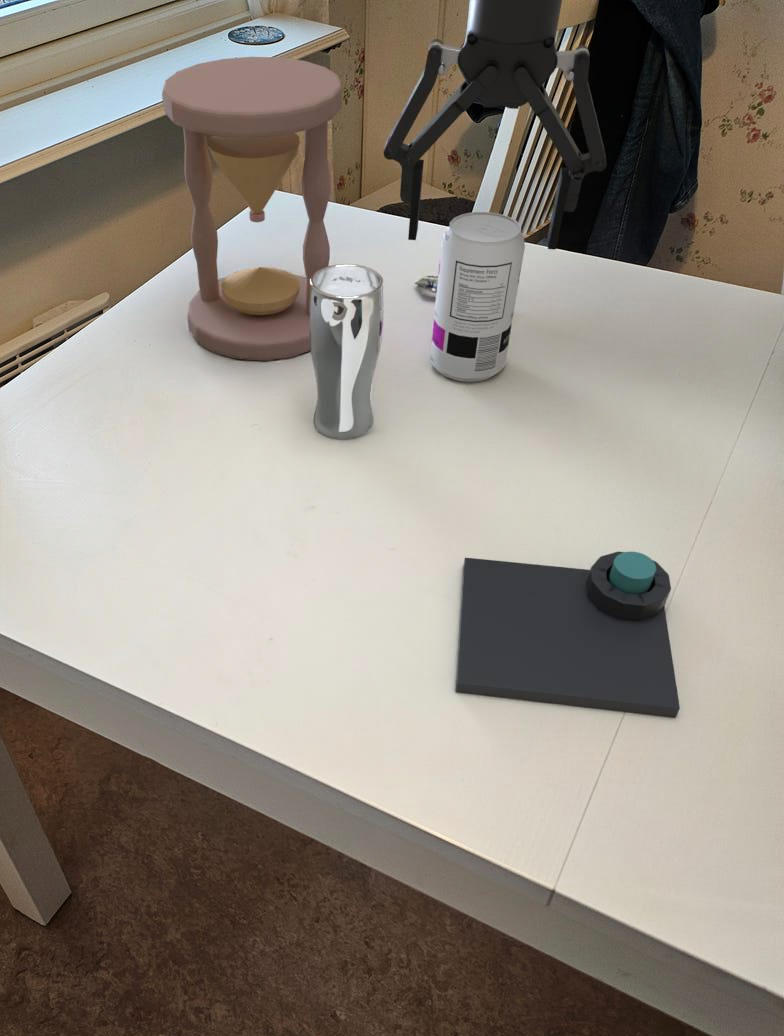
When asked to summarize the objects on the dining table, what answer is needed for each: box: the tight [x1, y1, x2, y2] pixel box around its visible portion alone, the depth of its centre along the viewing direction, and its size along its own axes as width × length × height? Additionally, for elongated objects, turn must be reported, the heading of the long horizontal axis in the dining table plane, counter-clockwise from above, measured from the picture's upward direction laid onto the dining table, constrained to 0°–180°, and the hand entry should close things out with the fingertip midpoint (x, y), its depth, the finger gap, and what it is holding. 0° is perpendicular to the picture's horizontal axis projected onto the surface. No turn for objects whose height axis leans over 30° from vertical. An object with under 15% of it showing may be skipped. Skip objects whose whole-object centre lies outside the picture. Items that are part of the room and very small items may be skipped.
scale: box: [454, 551, 681, 719], centre depth 70 cm, size 16×15×3 cm
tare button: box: [609, 551, 656, 594], centre depth 71 cm, size 3×3×2 cm
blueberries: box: [414, 275, 438, 298], centre depth 110 cm, size 7×8×2 cm
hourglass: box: [161, 56, 343, 361], centre depth 97 cm, size 18×18×25 cm
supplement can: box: [429, 211, 526, 383], centre depth 93 cm, size 8×8×15 cm
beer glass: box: [308, 263, 384, 440], centre depth 86 cm, size 7×7×15 cm
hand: (481, 239), depth 89 cm, fingers open, 13 cm apart
